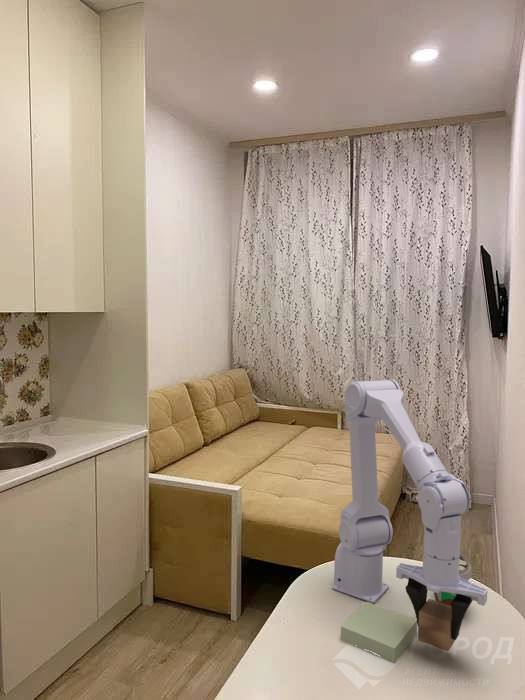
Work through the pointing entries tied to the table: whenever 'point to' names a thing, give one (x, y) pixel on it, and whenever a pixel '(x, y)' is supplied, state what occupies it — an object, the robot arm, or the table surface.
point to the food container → (463, 573)
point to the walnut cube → (435, 625)
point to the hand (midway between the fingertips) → (437, 630)
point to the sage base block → (379, 631)
